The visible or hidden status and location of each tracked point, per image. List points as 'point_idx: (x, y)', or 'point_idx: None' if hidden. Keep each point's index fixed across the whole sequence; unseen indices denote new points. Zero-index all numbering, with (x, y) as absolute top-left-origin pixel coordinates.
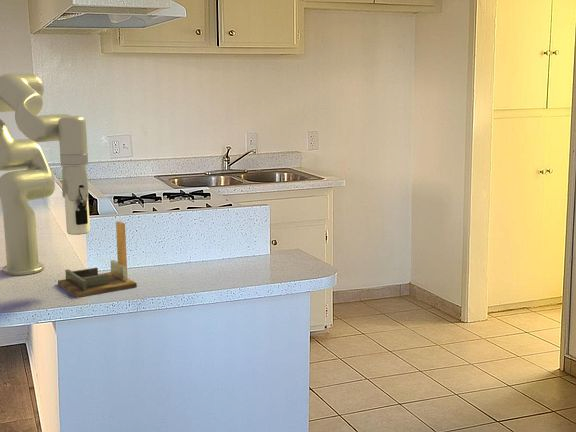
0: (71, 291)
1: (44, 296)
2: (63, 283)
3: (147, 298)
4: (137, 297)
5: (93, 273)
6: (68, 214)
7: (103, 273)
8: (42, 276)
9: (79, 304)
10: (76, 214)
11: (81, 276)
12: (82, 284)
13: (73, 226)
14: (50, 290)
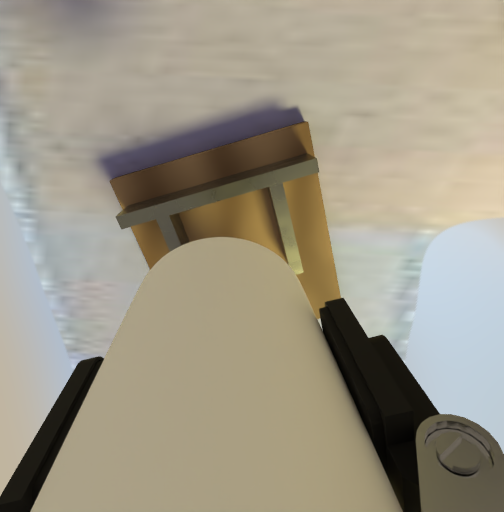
0: (161, 164)
1: (152, 57)
2: (256, 141)
3: (72, 359)
4: (85, 339)
5: (285, 254)
6: (115, 368)
7: (334, 278)
8: (449, 61)
9: (28, 182)
10: (28, 456)
11: (274, 212)
12: (125, 210)
13: (124, 317)
14: (231, 86)
